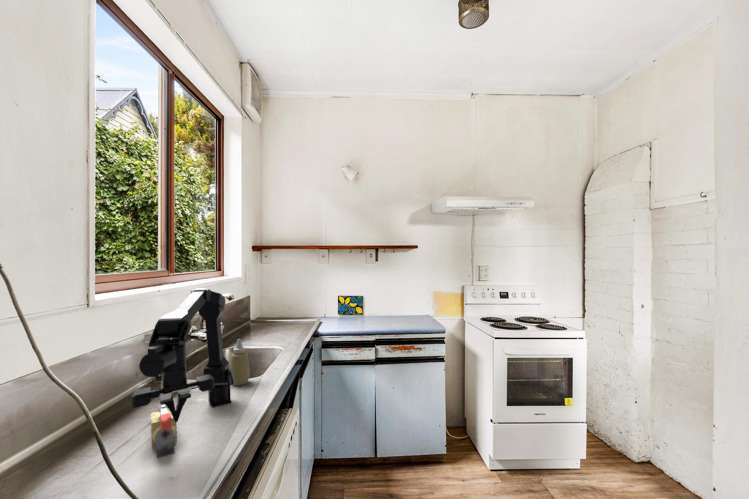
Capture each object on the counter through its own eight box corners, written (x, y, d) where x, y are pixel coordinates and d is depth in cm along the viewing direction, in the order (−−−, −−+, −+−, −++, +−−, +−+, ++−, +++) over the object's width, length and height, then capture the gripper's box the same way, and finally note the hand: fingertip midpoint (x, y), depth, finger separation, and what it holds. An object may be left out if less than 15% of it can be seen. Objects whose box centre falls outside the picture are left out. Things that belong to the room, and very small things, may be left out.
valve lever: (173, 427, 90) (173, 419, 90) (160, 431, 88) (159, 422, 88) (168, 408, 102) (168, 400, 102) (156, 410, 100) (156, 403, 100)
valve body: (173, 421, 110) (172, 395, 110) (179, 453, 92) (178, 422, 92) (150, 426, 107) (150, 400, 107) (152, 461, 89) (151, 429, 89)
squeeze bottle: (230, 388, 136) (229, 342, 136) (228, 382, 143) (227, 338, 144) (251, 384, 140) (250, 339, 140) (249, 378, 147) (248, 336, 147)
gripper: (207, 350, 105) (209, 401, 105) (132, 363, 94) (134, 420, 94) (213, 359, 95) (216, 415, 95) (131, 374, 85) (133, 438, 85)
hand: (176, 421), depth 93 cm, fingers closed
